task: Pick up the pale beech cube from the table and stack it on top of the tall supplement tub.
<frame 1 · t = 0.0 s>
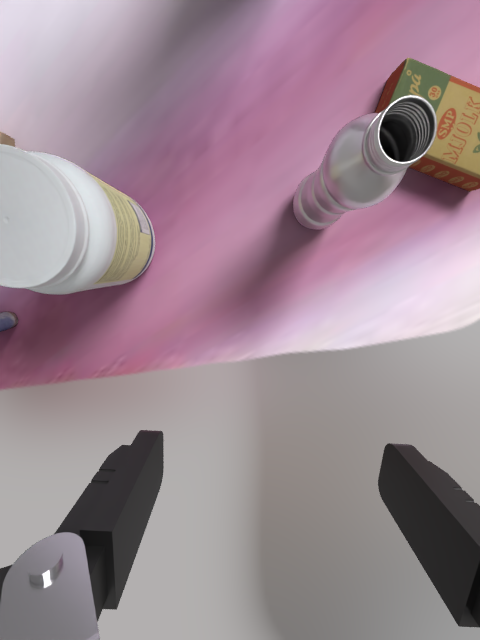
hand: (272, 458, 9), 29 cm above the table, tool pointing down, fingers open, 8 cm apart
plastic bottle: (313, 206, 35), on the table
carton: (427, 139, 34), on the table
supplement tub: (114, 240, 36), on the table
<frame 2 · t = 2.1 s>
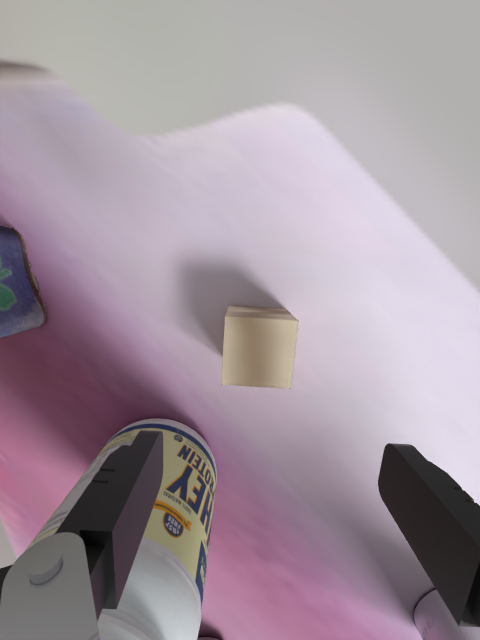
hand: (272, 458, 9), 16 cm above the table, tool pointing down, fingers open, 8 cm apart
flask: (24, 278, 24), on the table
beech cube: (255, 334, 25), on the table
supplement tub: (162, 461, 28), on the table
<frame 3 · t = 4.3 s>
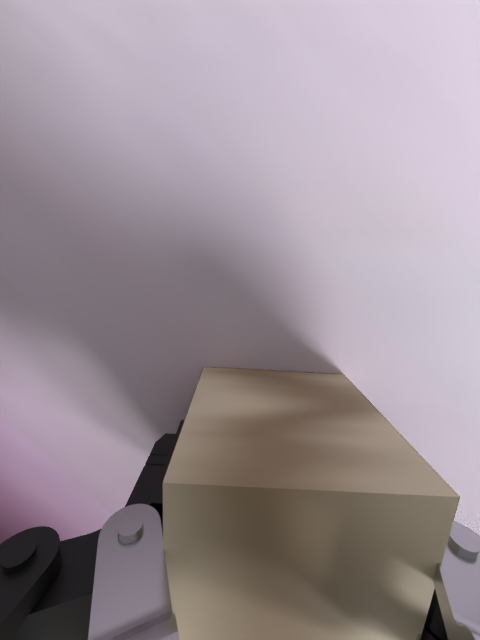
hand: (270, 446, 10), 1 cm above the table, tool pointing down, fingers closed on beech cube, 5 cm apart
beech cube: (268, 432, 11), on the table, touching gripper
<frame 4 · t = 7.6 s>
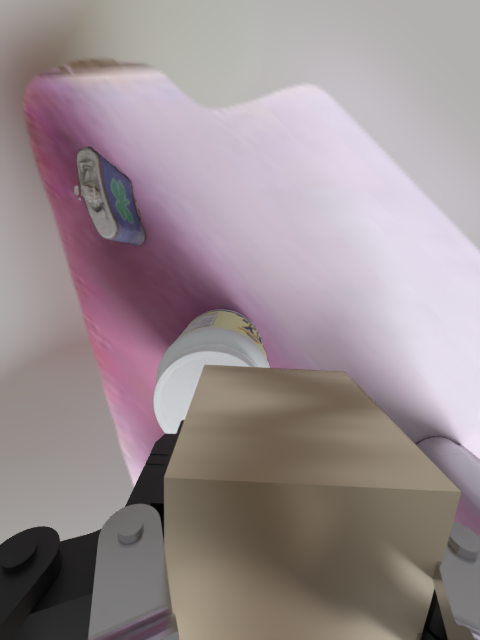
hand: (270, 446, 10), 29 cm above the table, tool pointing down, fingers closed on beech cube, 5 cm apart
flask: (130, 211, 36), on the table
beech cube: (269, 430, 11), point 28 cm above the table, touching gripper
supplement tub: (222, 346, 40), on the table
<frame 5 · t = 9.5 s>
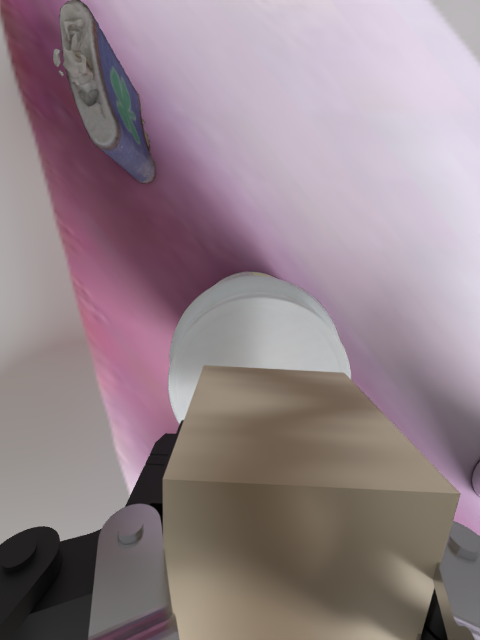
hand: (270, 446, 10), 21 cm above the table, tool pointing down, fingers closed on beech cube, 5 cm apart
flask: (136, 137, 27), on the table
beech cube: (268, 431, 11), point 21 cm above the table, touching gripper
supplement tub: (249, 322, 31), on the table
when the fingers open (19 cm above the table, at t = 10.9 s): beech cube drops 1 cm, resting on supplement tub.
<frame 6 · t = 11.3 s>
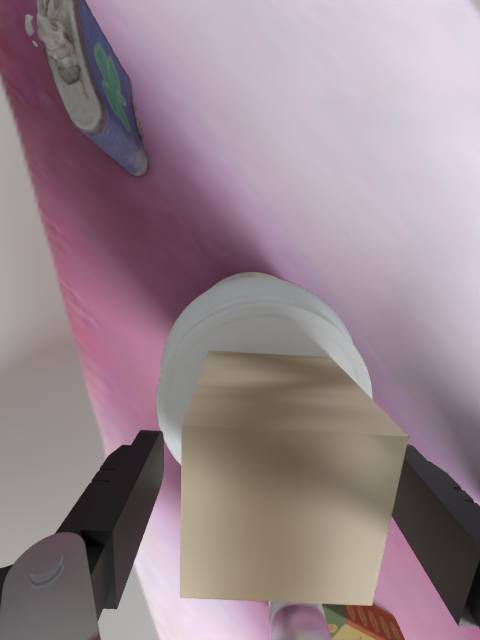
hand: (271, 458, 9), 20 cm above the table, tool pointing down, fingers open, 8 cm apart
plastic bottle: (282, 526, 35), on the table
carton: (332, 605, 38), on the table
flask: (127, 126, 25), on the table
beech cube: (265, 409, 12), point 17 cm above the table, touching supplement tub
supplement tub: (250, 326, 29), on the table, touching beech cube
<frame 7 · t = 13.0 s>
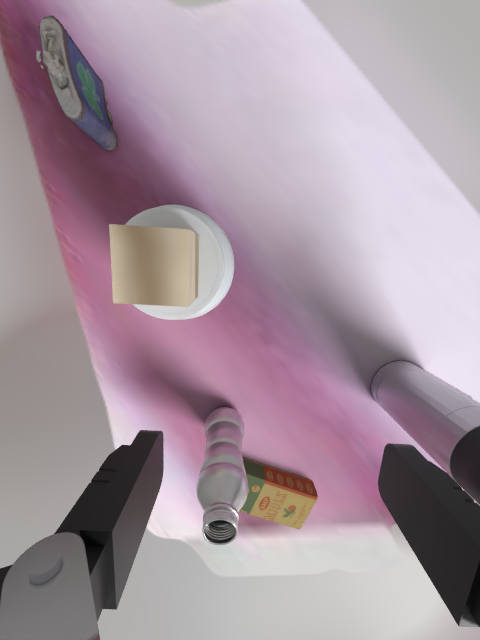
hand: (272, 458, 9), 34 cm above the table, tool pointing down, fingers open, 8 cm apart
plastic bottle: (225, 417, 47), on the table
carton: (266, 482, 51), on the table
flask: (101, 115, 36), on the table
beech cube: (168, 265, 24), point 17 cm above the table, touching supplement tub
supplement tub: (194, 262, 41), on the table, touching beech cube
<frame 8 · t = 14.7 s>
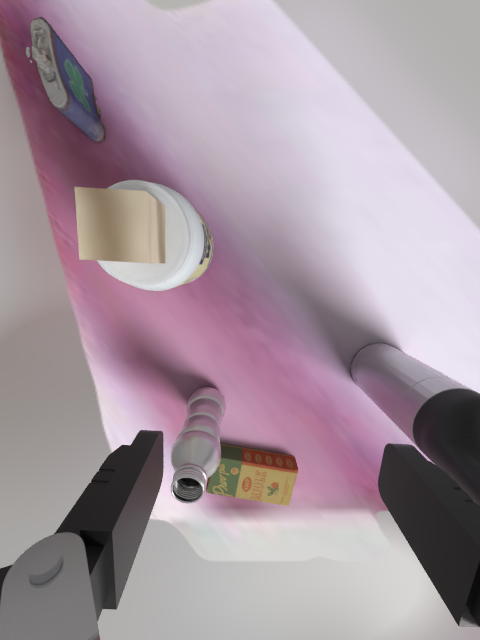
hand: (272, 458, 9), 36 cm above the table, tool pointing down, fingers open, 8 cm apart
plastic bottle: (208, 398, 49), on the table
carton: (250, 464, 52), on the table
flask: (91, 109, 39), on the table
beech cube: (138, 234, 26), point 17 cm above the table, touching supplement tub
supplement tub: (177, 246, 43), on the table, touching beech cube
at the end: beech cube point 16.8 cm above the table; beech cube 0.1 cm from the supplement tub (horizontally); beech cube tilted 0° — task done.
